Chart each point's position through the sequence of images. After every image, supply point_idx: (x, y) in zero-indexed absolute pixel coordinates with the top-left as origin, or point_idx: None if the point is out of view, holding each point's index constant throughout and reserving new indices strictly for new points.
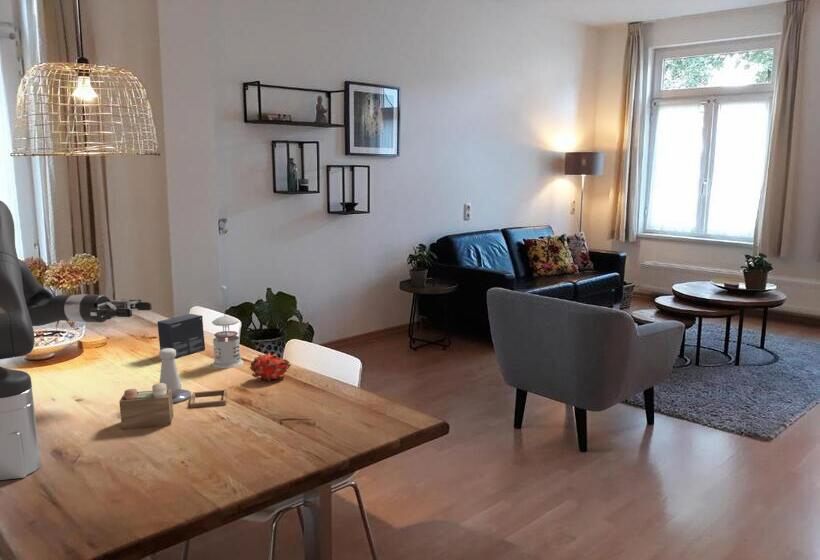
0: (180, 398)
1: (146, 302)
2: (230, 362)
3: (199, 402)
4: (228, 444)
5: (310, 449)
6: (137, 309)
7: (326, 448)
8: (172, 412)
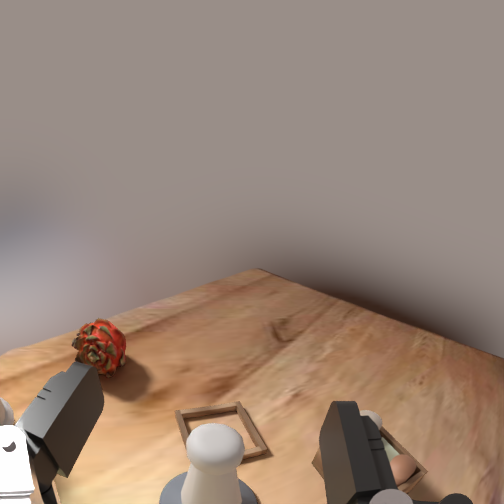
0: None
1: (83, 377)
2: (4, 408)
3: (254, 436)
4: (366, 365)
5: (339, 316)
6: (53, 481)
7: (332, 309)
8: None
